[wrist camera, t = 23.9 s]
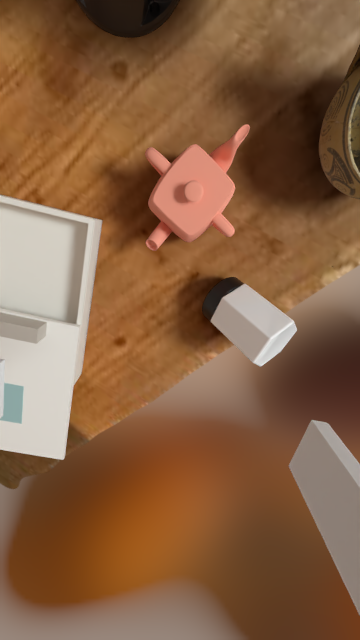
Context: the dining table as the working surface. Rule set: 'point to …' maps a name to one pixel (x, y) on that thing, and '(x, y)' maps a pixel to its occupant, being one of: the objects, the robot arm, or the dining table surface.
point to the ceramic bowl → (343, 135)
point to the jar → (248, 320)
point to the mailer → (48, 263)
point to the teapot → (192, 191)
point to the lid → (37, 382)
